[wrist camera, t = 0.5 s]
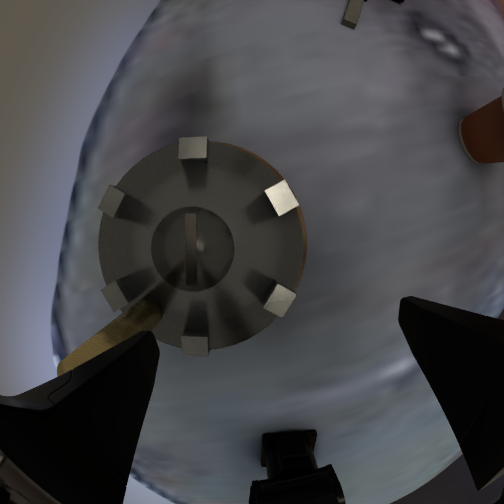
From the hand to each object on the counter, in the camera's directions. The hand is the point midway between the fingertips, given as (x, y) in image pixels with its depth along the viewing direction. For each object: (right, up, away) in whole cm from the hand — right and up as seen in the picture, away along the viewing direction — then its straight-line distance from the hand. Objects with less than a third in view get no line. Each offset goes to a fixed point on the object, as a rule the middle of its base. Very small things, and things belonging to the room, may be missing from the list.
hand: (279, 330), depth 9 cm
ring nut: (-5, +3, +14) cm, 15 cm away
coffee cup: (+28, +17, +15) cm, 36 cm away
